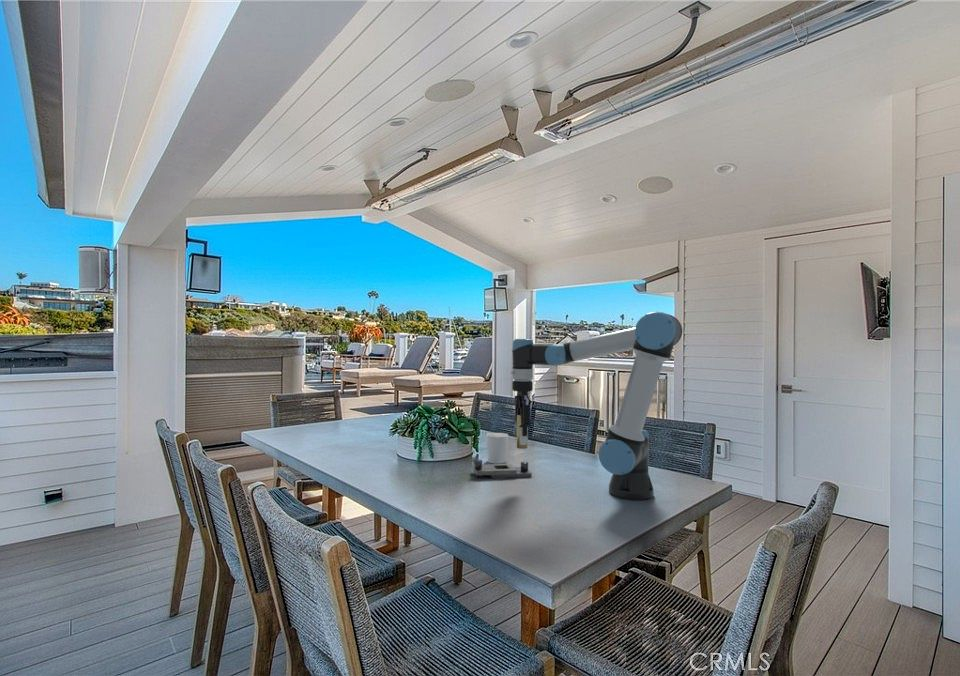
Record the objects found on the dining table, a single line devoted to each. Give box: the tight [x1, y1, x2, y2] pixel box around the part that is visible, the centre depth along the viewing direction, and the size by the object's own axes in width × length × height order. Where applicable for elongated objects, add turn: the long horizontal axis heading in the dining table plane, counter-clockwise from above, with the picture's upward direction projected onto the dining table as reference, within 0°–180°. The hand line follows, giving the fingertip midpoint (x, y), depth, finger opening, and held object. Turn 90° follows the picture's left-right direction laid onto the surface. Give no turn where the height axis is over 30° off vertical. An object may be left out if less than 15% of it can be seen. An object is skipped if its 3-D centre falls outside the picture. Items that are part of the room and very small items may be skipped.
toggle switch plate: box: [471, 459, 533, 480], centre depth 192 cm, size 22×10×6 cm, turn 101°
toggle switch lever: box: [516, 414, 528, 450], centre depth 178 cm, size 4×4×12 cm
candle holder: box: [486, 432, 509, 464], centre depth 213 cm, size 10×10×12 cm
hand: (522, 443), depth 178 cm, fingers closed on toggle switch lever, 4 cm apart
